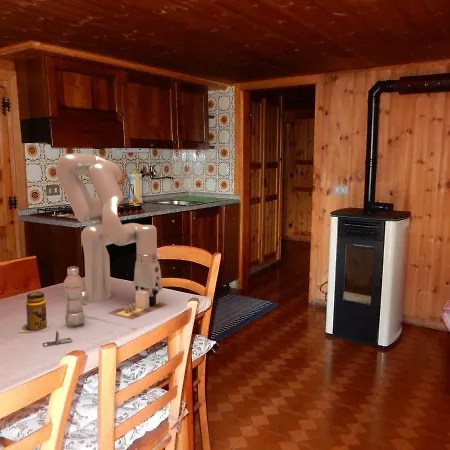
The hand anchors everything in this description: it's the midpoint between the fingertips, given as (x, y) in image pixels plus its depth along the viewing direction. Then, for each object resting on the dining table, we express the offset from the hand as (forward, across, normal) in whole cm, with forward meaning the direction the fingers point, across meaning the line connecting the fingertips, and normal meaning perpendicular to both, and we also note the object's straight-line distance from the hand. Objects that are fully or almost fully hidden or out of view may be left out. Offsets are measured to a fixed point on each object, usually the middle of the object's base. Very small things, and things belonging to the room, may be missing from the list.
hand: (147, 304), depth 168 cm
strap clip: (+2, +2, +40) cm, 40 cm away
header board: (+2, 0, +5) cm, 5 cm away
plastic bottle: (+2, +10, +26) cm, 28 cm away
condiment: (+2, +19, +35) cm, 40 cm away
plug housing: (0, 0, 0) cm, 0 cm away
